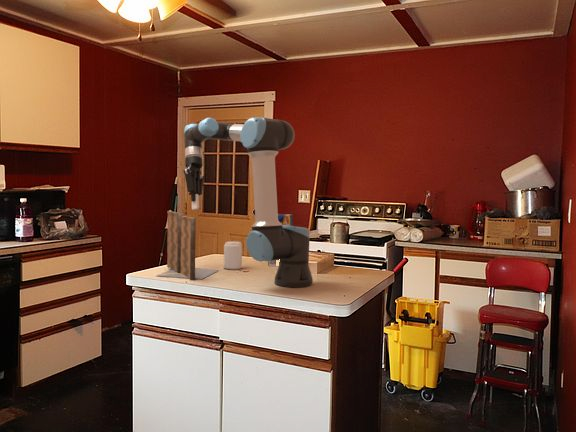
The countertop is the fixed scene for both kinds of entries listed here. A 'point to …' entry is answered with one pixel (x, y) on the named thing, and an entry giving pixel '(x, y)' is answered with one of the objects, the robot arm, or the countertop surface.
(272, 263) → the juice carton
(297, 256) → the robot arm
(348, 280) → the countertop surface
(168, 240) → the brown wooden board
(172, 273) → the card
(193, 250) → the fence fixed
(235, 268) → the beverage can
